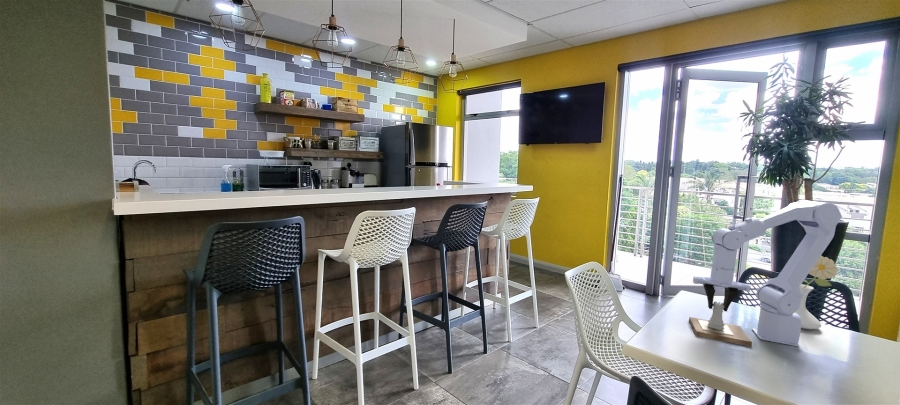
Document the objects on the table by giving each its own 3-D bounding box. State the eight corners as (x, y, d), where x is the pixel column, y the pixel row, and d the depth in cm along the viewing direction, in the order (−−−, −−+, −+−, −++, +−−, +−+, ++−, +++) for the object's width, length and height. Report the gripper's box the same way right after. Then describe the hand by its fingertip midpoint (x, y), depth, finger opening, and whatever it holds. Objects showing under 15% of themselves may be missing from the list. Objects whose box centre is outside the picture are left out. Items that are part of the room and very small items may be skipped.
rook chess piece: (727, 331, 115) (730, 305, 114) (711, 329, 116) (714, 303, 115) (720, 326, 119) (723, 301, 119) (704, 324, 120) (707, 299, 120)
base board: (739, 330, 121) (740, 325, 121) (751, 346, 110) (752, 341, 110) (688, 321, 126) (689, 316, 126) (695, 335, 116) (696, 330, 115)
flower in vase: (772, 323, 128) (783, 252, 125) (777, 315, 135) (788, 248, 132) (826, 338, 118) (839, 261, 115) (828, 328, 126) (841, 256, 123)
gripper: (698, 266, 115) (692, 308, 117) (756, 274, 110) (749, 318, 111) (693, 261, 122) (688, 301, 123) (748, 268, 116) (742, 310, 118)
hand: (717, 309), depth 118 cm, fingers closed on rook chess piece, 3 cm apart
